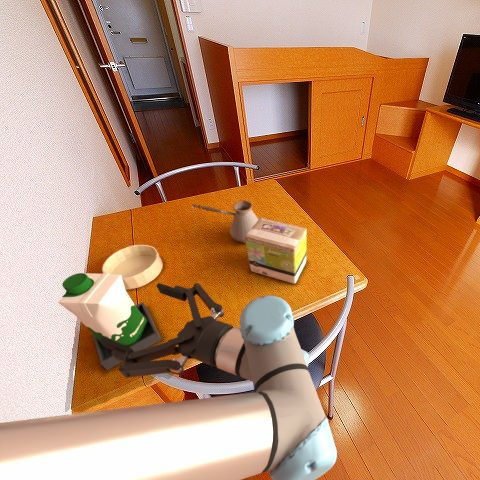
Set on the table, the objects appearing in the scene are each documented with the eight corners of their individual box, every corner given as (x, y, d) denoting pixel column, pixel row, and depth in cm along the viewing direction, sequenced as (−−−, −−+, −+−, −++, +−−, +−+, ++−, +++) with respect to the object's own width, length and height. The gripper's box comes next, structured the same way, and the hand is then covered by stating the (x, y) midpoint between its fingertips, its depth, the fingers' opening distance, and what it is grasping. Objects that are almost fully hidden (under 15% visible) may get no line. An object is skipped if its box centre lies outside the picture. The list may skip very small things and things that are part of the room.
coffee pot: (263, 224, 103) (259, 189, 93) (265, 245, 94) (260, 208, 84) (203, 230, 99) (192, 194, 89) (199, 252, 90) (187, 215, 81)
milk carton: (120, 319, 70) (78, 263, 57) (155, 320, 70) (121, 265, 57) (98, 352, 63) (45, 298, 50) (138, 353, 63) (94, 299, 50)
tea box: (249, 272, 84) (242, 235, 75) (264, 251, 91) (260, 215, 82) (295, 285, 81) (294, 248, 71) (307, 262, 88) (307, 226, 79)
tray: (107, 370, 61) (100, 364, 59) (96, 334, 67) (90, 327, 65) (161, 339, 67) (157, 332, 65) (147, 308, 73) (142, 302, 71)
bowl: (116, 297, 76) (108, 287, 73) (104, 268, 83) (97, 258, 81) (169, 273, 83) (164, 263, 80) (154, 249, 91) (149, 238, 88)
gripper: (186, 427, 44) (85, 381, 49) (260, 306, 62) (182, 281, 67) (171, 410, 39) (61, 361, 44) (256, 284, 57) (172, 259, 62)
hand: (134, 312), depth 55 cm, fingers open, 13 cm apart
